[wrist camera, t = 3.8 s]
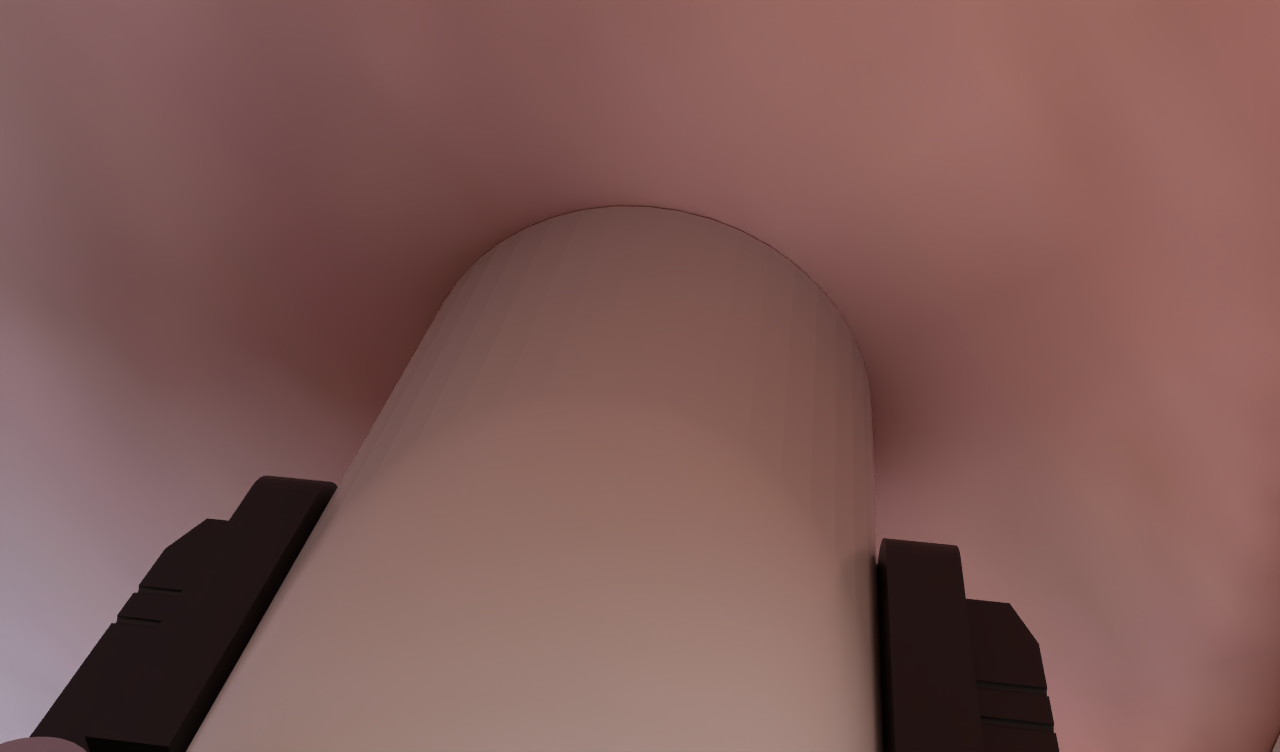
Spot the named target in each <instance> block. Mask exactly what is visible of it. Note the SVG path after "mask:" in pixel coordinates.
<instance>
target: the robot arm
mask: <svg viewBox="0 0 1280 752" xmlns="http://www.w3.org/2000/svg"><path fill="white" fill-rule="evenodd" d="M336 489H337V485H336V484H335V483H333V482H326V481H316V480H306V479H295V478H285V477H275V476H263V477H260V478H259V479H258V480H257V481H256V482H255V483H254V485H253V486H252V487H251V489H250V490H249V492H248V493H247V495H246V496H245V498H244V499H243V501H242V502H241V504H240V505H239V507H238V508H237V510H236V511H235V513H234V514H233V516H232V517H231V519H230V520H229V521H226V520H216V519H206V520H205V521H203V522H202V523H200V524H199V525H198V526H196V527H195V528H193V529H192V530H191V531H189V532H188V533H186V534H185V535H184V536H182V537H181V538H179V539H178V540H177V541H175V542H174V543H173V544H171V545H170V546H168V547H167V548H166V549H165V550H164V551H163V553H162V554H161V555H160V557H159V558H158V559H157V561H156V562H155V564H154V565H153V566H152V568H151V569H150V571H149V572H148V573H147V575H146V576H145V578H144V579H143V580H142V582H141V583H140V585H139V591H138V593H133V594H132V596H131V597H130V598H129V600H128V601H127V603H126V604H125V605H124V607H123V608H122V610H121V611H120V612H119V614H118V615H117V622H116V624H115V623H111V625H110V626H109V628H108V629H107V630H106V632H105V633H104V635H103V636H102V637H101V639H100V640H99V641H98V643H97V644H96V646H95V647H94V648H93V650H92V651H91V653H90V654H89V655H88V657H87V658H86V660H85V661H84V662H83V664H82V665H81V666H80V668H79V669H78V671H77V672H76V673H75V675H74V676H73V678H72V679H71V680H70V682H69V683H68V685H67V686H66V687H65V689H64V690H63V692H62V693H61V694H60V696H59V697H58V698H57V700H56V701H55V703H54V704H53V705H52V707H51V708H50V710H49V711H48V712H47V714H46V715H45V717H44V718H43V719H42V721H41V722H40V723H39V725H38V726H37V728H36V729H35V730H34V732H33V733H32V734H31V736H30V737H29V738H21V739H17V740H13V741H9V742H5V743H2V744H0V752H186V751H187V749H188V747H189V745H190V744H191V742H192V740H193V738H194V737H195V735H196V733H197V732H198V730H199V728H200V726H201V725H202V723H203V721H204V719H205V718H206V716H207V714H208V712H209V711H210V709H211V707H212V705H213V704H214V702H215V700H216V698H217V697H218V695H219V693H220V691H221V690H222V688H223V686H224V684H225V683H226V681H227V679H228V677H229V676H230V674H231V672H232V671H233V669H234V667H235V665H236V664H237V662H238V660H239V658H240V657H241V655H242V653H243V651H244V650H245V648H246V646H247V644H248V643H249V641H250V639H251V637H252V636H253V634H254V632H255V630H256V629H257V627H258V625H259V623H260V622H261V620H262V618H263V616H264V615H265V613H266V611H267V609H268V608H269V606H270V604H271V603H272V601H273V599H274V597H275V596H276V594H277V592H278V590H279V589H280V587H281V585H282V583H283V582H284V580H285V578H286V576H287V575H288V573H289V571H290V569H291V568H292V566H293V564H294V562H295V561H296V559H297V557H298V555H299V554H300V552H301V550H302V548H303V547H304V545H305V543H306V541H307V540H308V538H309V536H310V535H311V533H312V531H313V529H314V528H315V526H316V524H317V522H318V521H319V519H320V517H321V515H322V514H323V512H324V510H325V508H326V507H327V505H328V503H329V501H330V500H331V498H332V496H333V494H334V493H335V491H336ZM877 575H878V602H879V628H880V655H881V682H882V709H883V735H884V752H1059V747H1058V742H1057V737H1056V733H1054V721H1053V716H1052V711H1051V705H1050V700H1049V697H1048V696H1047V684H1046V679H1045V674H1044V669H1043V664H1042V658H1041V653H1040V648H1039V644H1038V642H1037V641H1036V639H1035V638H1034V637H1033V635H1032V634H1031V632H1030V631H1029V630H1028V628H1027V627H1026V626H1025V624H1024V623H1023V621H1022V620H1021V619H1020V617H1019V616H1018V615H1017V613H1016V612H1015V610H1014V609H1013V608H1012V606H1011V605H1010V603H1001V602H991V601H982V600H972V599H966V597H965V589H964V581H963V573H962V566H961V558H960V552H959V549H958V547H957V546H956V545H946V544H936V543H926V542H916V541H906V540H896V539H886V538H883V540H882V542H881V546H880V551H879V557H878V563H877Z"/></svg>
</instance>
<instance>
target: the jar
mask: <svg viewBox="0 0 1280 752" xmlns="http://www.w3.org/2000/svg"><path fill="white" fill-rule="evenodd" d="M877 563H878V559H877V533H876V507H875V480H874V454H873V428H872V406H871V396H870V386H869V381H868V377H867V373H866V369H865V365H864V362H863V358H862V355H861V353H860V351H859V348H858V346H857V344H856V341H855V339H854V337H853V335H852V332H851V331H850V329H849V327H848V326H847V324H846V323H845V321H844V319H843V318H842V316H841V314H840V313H839V311H838V310H837V308H836V307H835V306H834V304H833V303H832V302H831V301H830V300H829V298H828V297H827V296H826V295H825V293H824V292H823V291H822V290H821V289H820V287H819V286H818V285H817V284H816V283H815V282H814V281H813V280H811V279H810V278H809V277H808V276H807V275H806V274H805V273H804V272H803V271H802V270H801V269H800V268H798V267H797V266H796V265H795V264H794V263H792V262H791V261H790V260H788V259H787V258H785V257H784V256H783V255H781V254H780V253H778V252H777V251H776V250H774V249H773V248H771V247H770V246H768V245H766V244H764V243H763V242H761V241H759V240H757V239H755V238H753V237H751V236H750V235H748V234H746V233H744V232H742V231H740V230H737V229H735V228H732V227H730V226H727V225H724V224H722V223H719V222H717V221H714V220H712V219H708V218H704V217H700V216H697V215H693V214H689V213H685V212H681V211H675V210H668V209H660V208H652V207H624V206H614V207H605V208H596V209H587V210H581V211H577V212H573V213H569V214H565V215H561V216H557V217H553V218H550V219H548V220H545V221H543V222H540V223H537V224H535V225H532V226H530V227H527V228H525V229H523V230H521V231H520V232H518V233H516V234H514V235H512V236H511V237H509V238H507V239H505V240H504V241H502V242H500V243H499V244H498V245H496V246H495V247H494V248H492V249H491V250H490V251H488V252H487V253H486V254H485V255H483V256H482V257H481V258H479V259H478V260H477V261H476V262H475V263H474V264H473V265H472V266H471V268H470V269H469V270H468V271H467V272H466V273H465V274H464V275H463V276H462V277H461V278H460V279H459V281H458V282H457V284H456V285H455V286H454V288H453V289H452V291H451V292H450V293H449V295H448V296H447V298H446V299H445V301H444V303H443V304H442V306H441V308H440V310H439V311H438V313H437V315H436V317H435V318H434V320H433V322H432V324H431V325H430V327H429V329H428V331H427V332H426V334H425V336H424V338H423V339H422V341H421V343H420V345H419V346H418V348H417V350H416V351H415V353H414V355H413V357H412V358H411V360H410V362H409V364H408V365H407V367H406V369H405V371H404V372H403V374H402V376H401V378H400V379H399V381H398V383H397V385H396V386H395V388H394V390H393V392H392V393H391V395H390V397H389V399H388V400H387V402H386V404H385V406H384V407H383V409H382V411H381V412H380V414H379V416H378V418H377V419H376V421H375V423H374V425H373V426H372V428H371V430H370V432H369V433H368V435H367V437H366V439H365V440H364V442H363V444H362V446H361V447H360V449H359V451H358V453H357V454H356V456H355V458H354V460H353V461H352V463H351V465H350V467H349V468H348V470H347V472H346V474H345V475H344V477H343V479H342V480H341V482H340V484H339V486H338V487H337V489H336V491H335V493H334V494H333V496H332V498H331V500H330V501H329V503H328V505H327V507H326V508H325V510H324V512H323V514H322V515H321V517H320V519H319V521H318V522H317V524H316V526H315V528H314V529H313V531H312V533H311V535H310V536H309V538H308V540H307V541H306V543H305V545H304V547H303V548H302V550H301V552H300V554H299V555H298V557H297V559H296V561H295V562H294V564H293V566H292V568H291V569H290V571H289V573H288V575H287V576H286V578H285V580H284V582H283V583H282V585H281V587H280V589H279V590H278V592H277V594H276V596H275V597H274V599H273V601H272V603H271V604H270V606H269V608H268V609H267V611H266V613H265V615H264V616H263V618H262V620H261V622H260V623H259V625H258V627H257V629H256V630H255V632H254V634H253V636H252V637H251V639H250V641H249V643H248V644H247V646H246V648H245V650H244V651H243V653H242V655H241V657H240V658H239V660H238V662H237V664H236V665H235V667H234V669H233V671H232V672H231V674H230V676H229V677H228V679H227V681H226V683H225V684H224V686H223V688H222V690H221V691H220V693H219V695H218V697H217V698H216V700H215V702H214V704H213V705H212V707H211V709H210V711H209V712H208V714H207V716H206V718H205V719H204V721H203V723H202V725H201V726H200V728H199V730H198V732H197V733H196V735H195V737H194V738H193V740H192V742H191V744H190V745H189V747H188V749H187V751H186V752H884V735H883V709H882V682H881V655H880V628H879V602H878V575H877Z"/></svg>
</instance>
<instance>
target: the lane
mask: <svg viewBox="0 0 1280 752" xmlns="http://www.w3.org/2000/svg"><path fill="white" fill-rule="evenodd" d="M1272 752H1280V735H1279V737H1278V739H1277V742H1276V744H1275V746H1274V749H1273V751H1272Z"/></svg>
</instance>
